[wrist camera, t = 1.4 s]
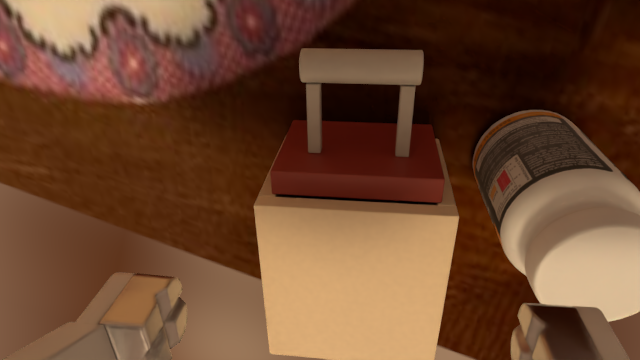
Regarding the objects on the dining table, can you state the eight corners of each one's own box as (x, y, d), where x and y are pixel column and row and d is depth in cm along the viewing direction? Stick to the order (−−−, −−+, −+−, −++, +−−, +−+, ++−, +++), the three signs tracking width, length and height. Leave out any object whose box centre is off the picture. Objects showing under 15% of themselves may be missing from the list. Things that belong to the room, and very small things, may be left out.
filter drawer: (288, 29, 22) (260, 62, 17) (443, 31, 21) (462, 65, 16) (299, 243, 28) (281, 311, 23) (416, 251, 27) (424, 323, 22)
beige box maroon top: (286, 132, 25) (253, 204, 19) (439, 138, 24) (459, 216, 18) (294, 261, 30) (269, 354, 24) (421, 270, 29) (432, 369, 23)
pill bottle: (453, 180, 26) (488, 308, 17) (502, 90, 23) (574, 191, 14) (544, 210, 26) (623, 351, 17) (604, 125, 23) (734, 244, 14)
